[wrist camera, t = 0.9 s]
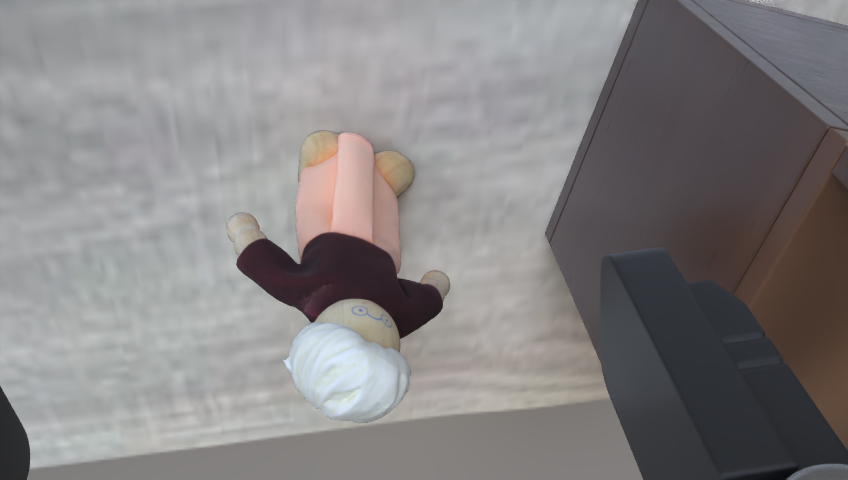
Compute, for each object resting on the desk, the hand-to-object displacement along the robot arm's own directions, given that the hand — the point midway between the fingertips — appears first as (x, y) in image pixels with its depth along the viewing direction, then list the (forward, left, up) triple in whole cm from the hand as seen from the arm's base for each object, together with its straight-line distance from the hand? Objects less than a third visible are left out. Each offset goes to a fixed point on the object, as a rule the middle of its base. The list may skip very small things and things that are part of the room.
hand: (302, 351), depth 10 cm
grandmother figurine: (+3, -7, -20) cm, 21 cm away
